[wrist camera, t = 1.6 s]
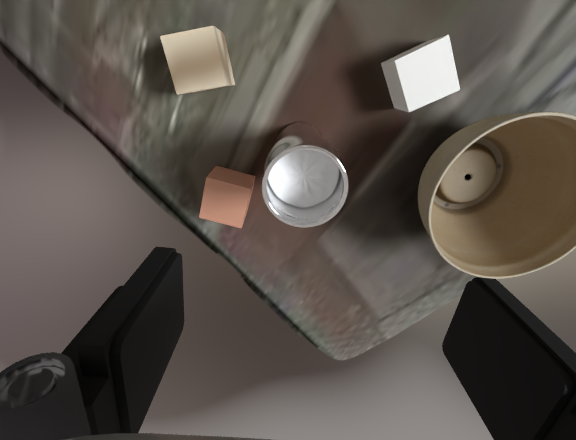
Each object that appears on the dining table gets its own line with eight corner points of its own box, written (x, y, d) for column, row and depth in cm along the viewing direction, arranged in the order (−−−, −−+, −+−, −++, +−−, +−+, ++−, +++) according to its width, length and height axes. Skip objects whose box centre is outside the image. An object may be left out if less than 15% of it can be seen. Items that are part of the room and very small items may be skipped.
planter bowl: (478, 70, 33) (557, 66, 23) (555, 168, 38) (649, 199, 28) (367, 177, 38) (393, 211, 28) (446, 253, 43) (493, 305, 33)
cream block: (380, 63, 33) (394, 60, 29) (426, 41, 32) (448, 34, 28) (393, 108, 35) (409, 112, 31) (437, 88, 34) (460, 89, 30)
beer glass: (281, 183, 39) (276, 240, 25) (262, 129, 36) (245, 159, 22) (335, 166, 38) (360, 216, 24) (320, 109, 35) (338, 128, 21)
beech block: (178, 42, 33) (160, 36, 28) (224, 33, 32) (213, 25, 28) (192, 92, 35) (176, 94, 30) (235, 85, 34) (226, 85, 30)
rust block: (216, 165, 38) (206, 177, 33) (255, 176, 39) (251, 189, 34) (209, 201, 40) (199, 217, 35) (247, 211, 41) (241, 228, 36)
